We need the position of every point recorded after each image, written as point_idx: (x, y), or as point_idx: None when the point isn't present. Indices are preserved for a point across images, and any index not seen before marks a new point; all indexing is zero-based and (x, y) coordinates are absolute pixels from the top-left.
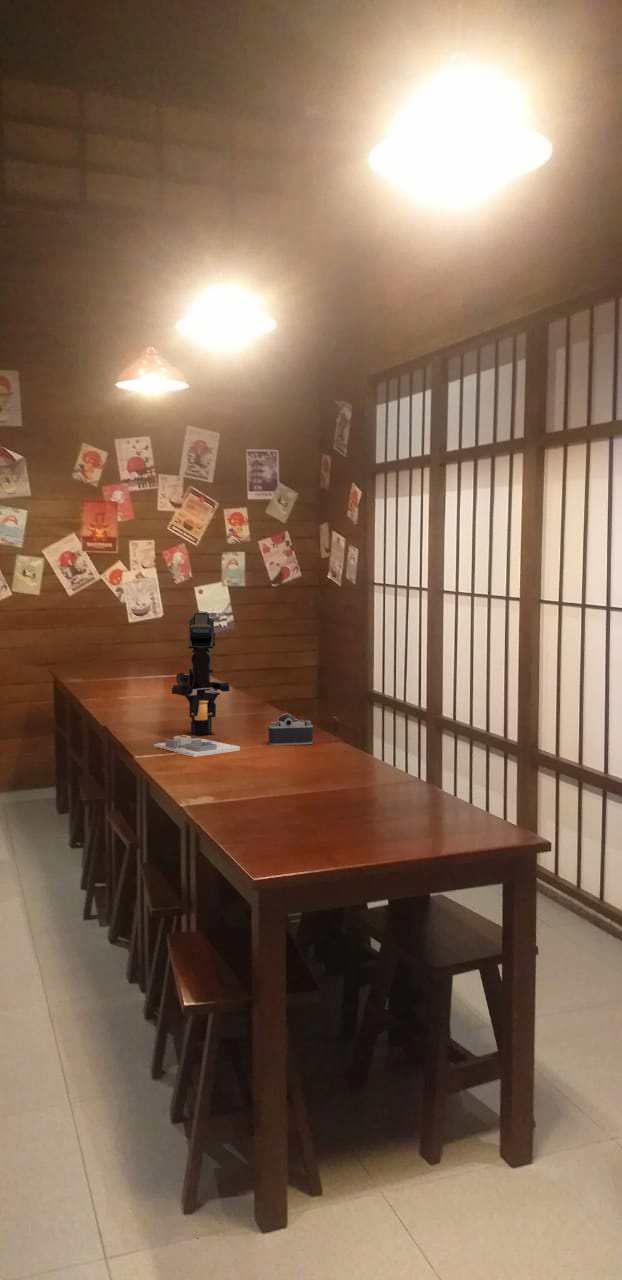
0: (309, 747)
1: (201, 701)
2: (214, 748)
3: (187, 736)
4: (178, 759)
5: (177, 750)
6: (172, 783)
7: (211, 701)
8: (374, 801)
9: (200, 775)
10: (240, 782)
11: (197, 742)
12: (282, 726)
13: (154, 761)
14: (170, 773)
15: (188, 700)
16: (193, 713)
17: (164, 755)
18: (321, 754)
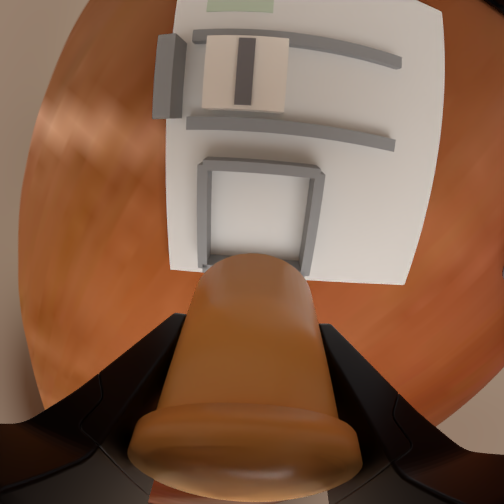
0: (490, 346)
1: (191, 492)
2: None
3: (270, 90)
4: (109, 256)
5: (167, 144)
6: (47, 390)
7: (332, 488)
8: (207, 497)
9: None
10: None
11: (283, 165)
12: None
13: (43, 230)
14: (50, 355)
15: (40, 419)
16: (161, 326)
17: (105, 153)
18: (424, 407)
